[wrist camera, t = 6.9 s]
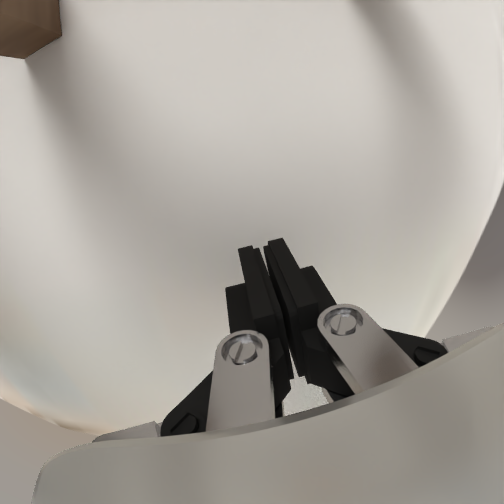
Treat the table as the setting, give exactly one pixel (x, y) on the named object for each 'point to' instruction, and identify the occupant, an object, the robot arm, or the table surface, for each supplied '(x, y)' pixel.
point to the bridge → (27, 26)
